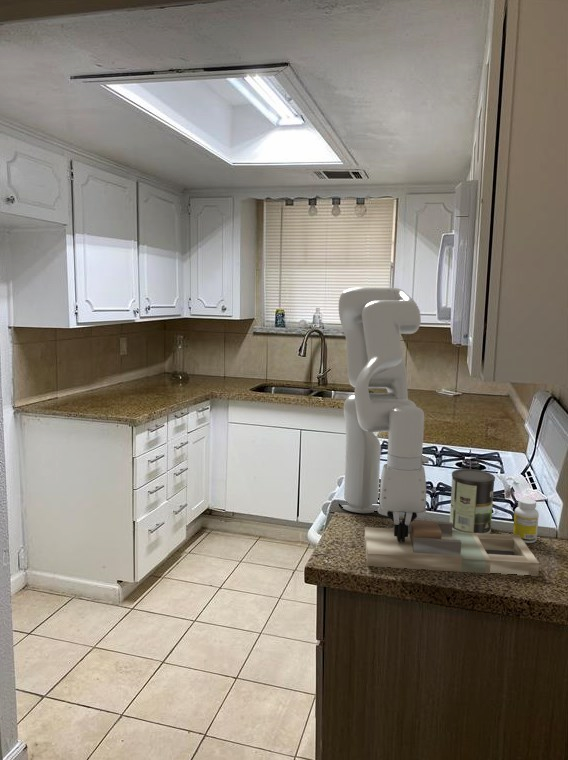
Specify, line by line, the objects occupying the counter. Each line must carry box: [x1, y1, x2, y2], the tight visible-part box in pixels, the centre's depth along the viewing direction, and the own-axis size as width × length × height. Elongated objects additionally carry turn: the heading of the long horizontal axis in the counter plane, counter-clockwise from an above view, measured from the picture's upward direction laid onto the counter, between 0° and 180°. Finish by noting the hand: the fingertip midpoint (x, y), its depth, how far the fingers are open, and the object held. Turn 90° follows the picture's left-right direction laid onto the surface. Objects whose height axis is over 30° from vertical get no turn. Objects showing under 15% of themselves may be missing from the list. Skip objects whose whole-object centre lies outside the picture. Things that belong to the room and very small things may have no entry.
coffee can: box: [449, 468, 496, 534], centre depth 146 cm, size 10×10×14 cm
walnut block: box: [410, 520, 442, 546], centre depth 130 cm, size 6×6×4 cm
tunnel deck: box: [363, 519, 540, 577], centre depth 131 cm, size 14×36×6 cm, turn 85°
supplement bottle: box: [512, 497, 540, 544], centre depth 140 cm, size 5×5×10 cm
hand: (400, 539), depth 131 cm, fingers closed
